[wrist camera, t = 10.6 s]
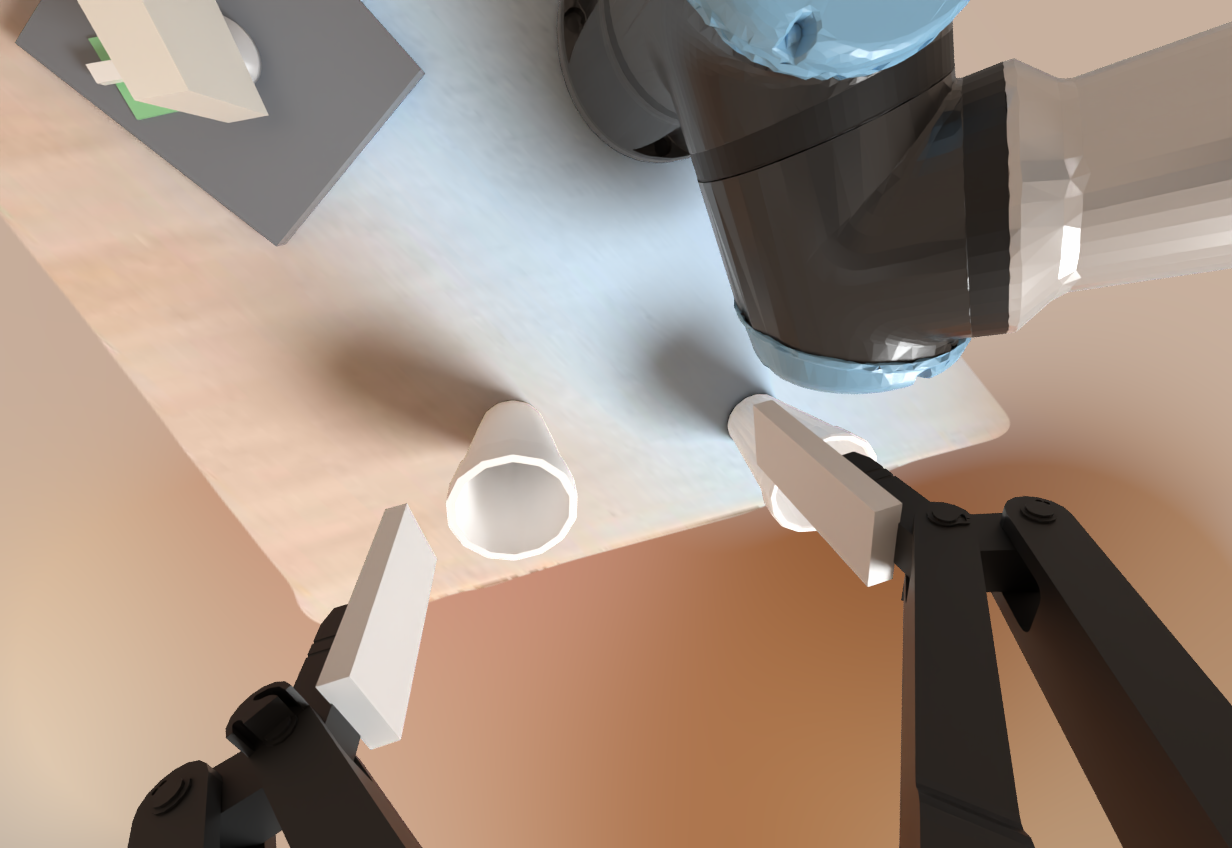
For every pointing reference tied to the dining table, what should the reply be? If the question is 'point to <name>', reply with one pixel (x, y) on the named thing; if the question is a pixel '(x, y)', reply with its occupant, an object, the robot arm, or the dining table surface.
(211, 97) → the cream angular block
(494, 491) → the foam cup
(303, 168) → the base
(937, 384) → the dining table surface
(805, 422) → the cup
